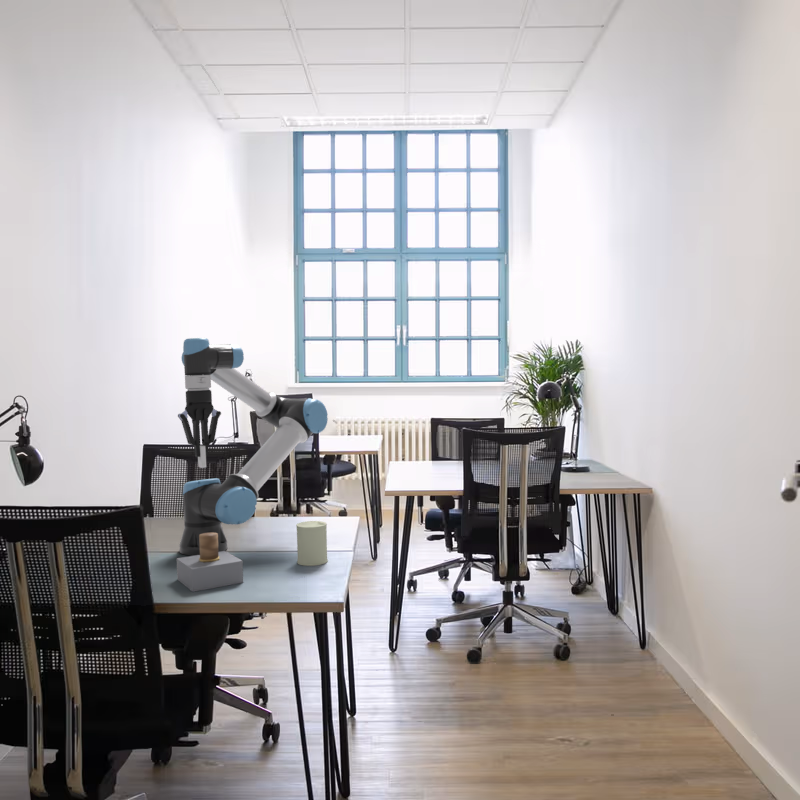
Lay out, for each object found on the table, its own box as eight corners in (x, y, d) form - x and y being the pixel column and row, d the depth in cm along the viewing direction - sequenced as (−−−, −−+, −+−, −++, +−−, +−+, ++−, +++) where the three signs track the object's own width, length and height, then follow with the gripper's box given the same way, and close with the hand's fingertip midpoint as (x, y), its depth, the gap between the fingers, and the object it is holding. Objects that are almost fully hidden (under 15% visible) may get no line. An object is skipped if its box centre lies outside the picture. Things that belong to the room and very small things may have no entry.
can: (327, 565, 218) (326, 525, 217) (296, 566, 217) (295, 526, 217) (328, 557, 227) (327, 518, 226) (298, 558, 226) (297, 519, 226)
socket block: (225, 571, 213) (225, 550, 213) (243, 582, 202) (242, 560, 202) (177, 579, 206) (176, 558, 206) (192, 591, 194) (191, 569, 194)
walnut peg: (216, 577, 208) (214, 531, 207) (222, 581, 203) (221, 534, 202) (197, 580, 205) (195, 534, 204) (203, 585, 200) (202, 537, 200)
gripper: (181, 390, 215) (185, 471, 216) (223, 388, 222) (227, 465, 224) (172, 390, 221) (176, 468, 222) (214, 388, 228) (218, 463, 230)
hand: (202, 467), depth 223 cm, fingers closed
